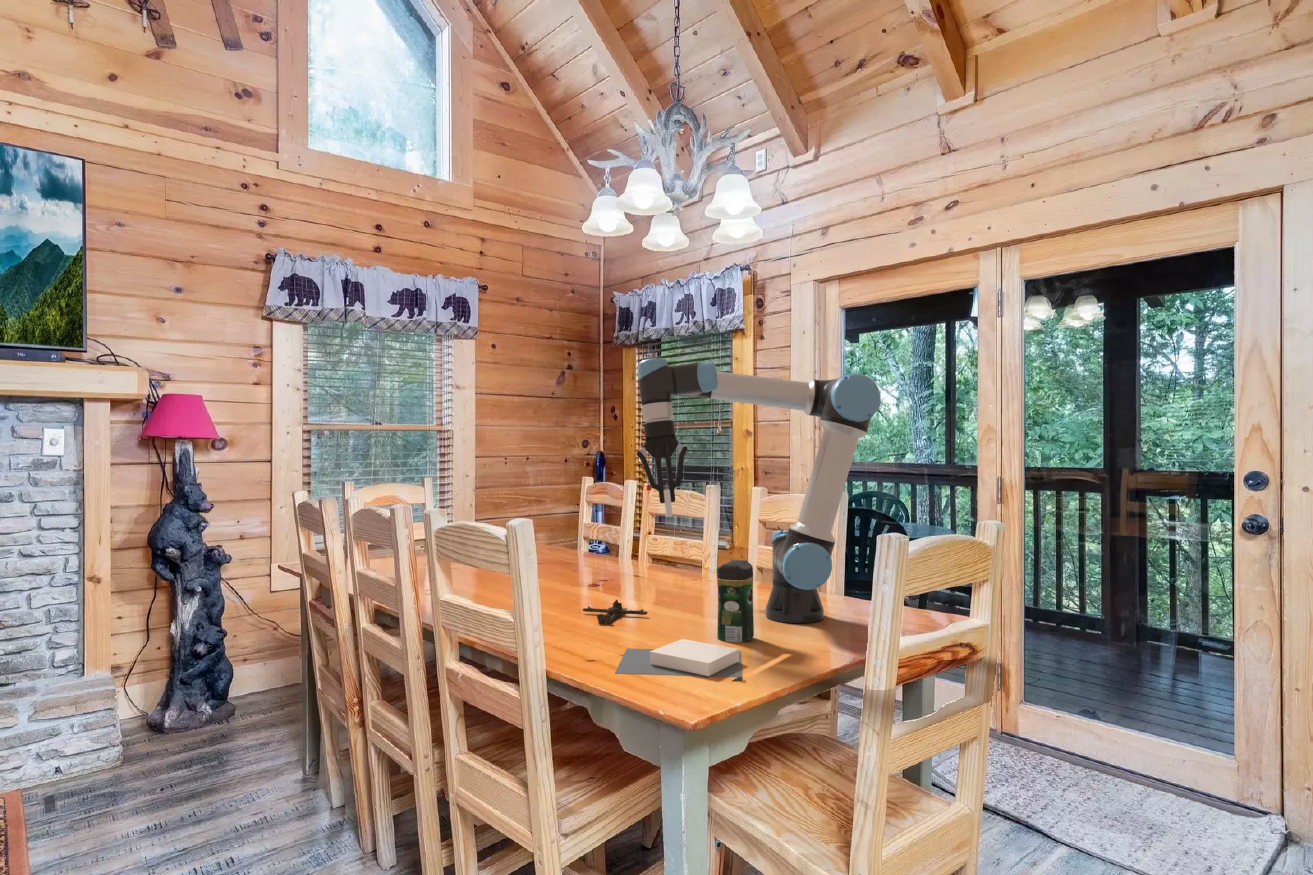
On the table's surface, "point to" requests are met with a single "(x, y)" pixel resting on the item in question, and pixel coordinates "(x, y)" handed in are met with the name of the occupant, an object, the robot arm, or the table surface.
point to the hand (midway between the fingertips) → (669, 516)
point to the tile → (694, 657)
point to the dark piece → (612, 612)
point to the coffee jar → (735, 601)
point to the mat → (640, 664)
